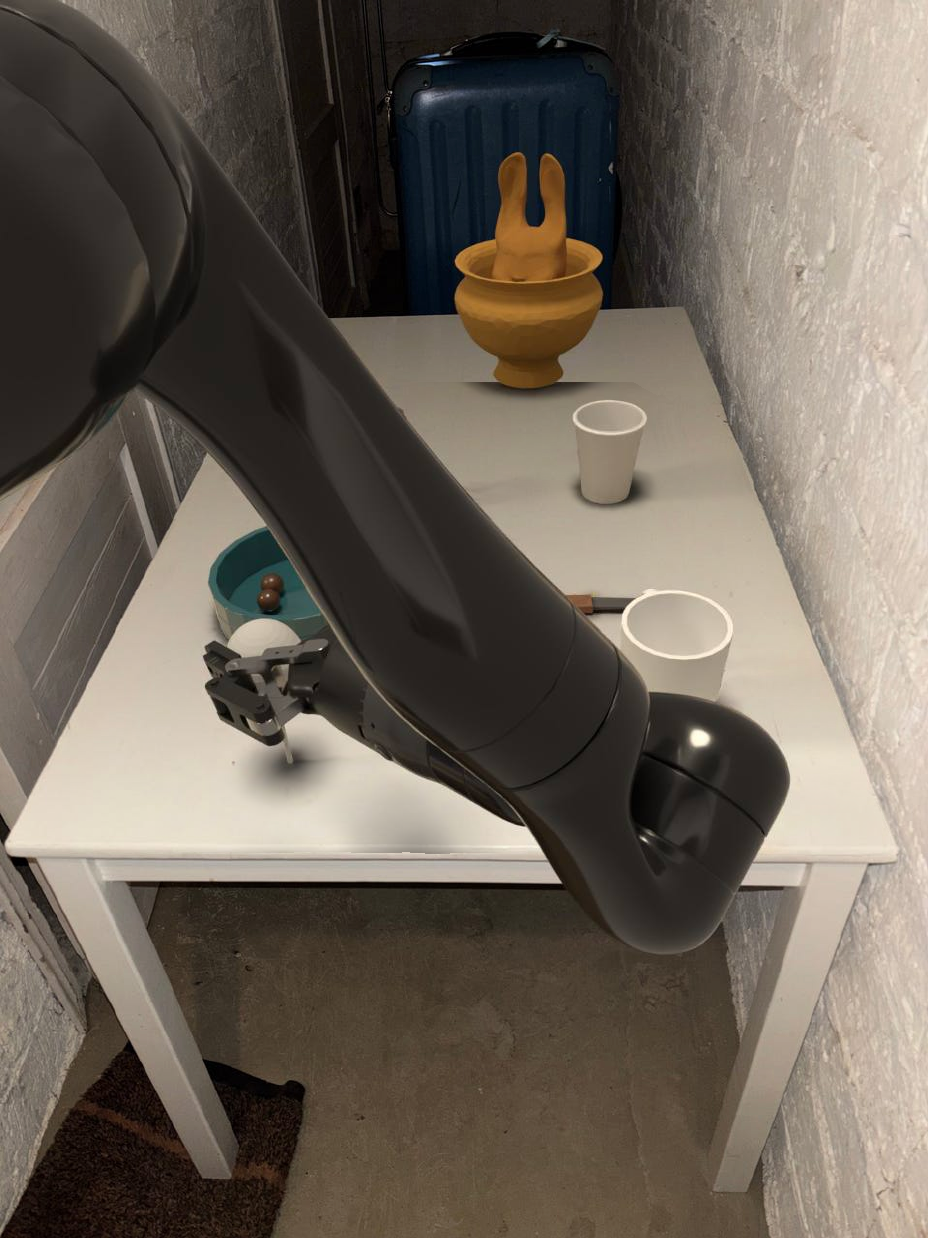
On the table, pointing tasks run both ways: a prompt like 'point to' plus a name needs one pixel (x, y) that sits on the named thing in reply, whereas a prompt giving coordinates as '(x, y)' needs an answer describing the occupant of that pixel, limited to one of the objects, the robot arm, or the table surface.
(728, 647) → the mug
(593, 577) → the table surface
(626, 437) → the dixie cup
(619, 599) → the knife
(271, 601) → the bead
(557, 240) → the decorative bowl
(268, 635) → the lollipop
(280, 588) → the bead
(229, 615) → the bowl
